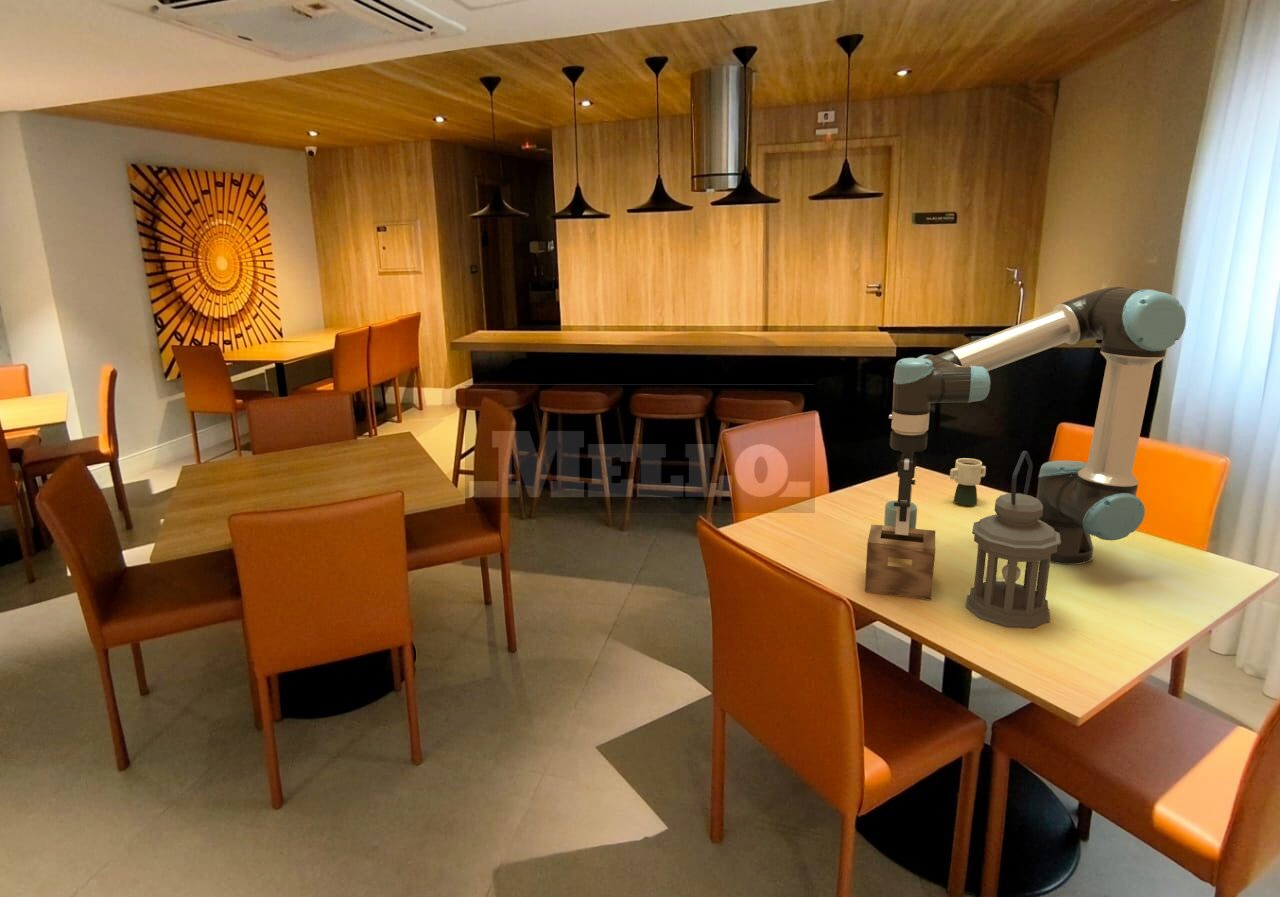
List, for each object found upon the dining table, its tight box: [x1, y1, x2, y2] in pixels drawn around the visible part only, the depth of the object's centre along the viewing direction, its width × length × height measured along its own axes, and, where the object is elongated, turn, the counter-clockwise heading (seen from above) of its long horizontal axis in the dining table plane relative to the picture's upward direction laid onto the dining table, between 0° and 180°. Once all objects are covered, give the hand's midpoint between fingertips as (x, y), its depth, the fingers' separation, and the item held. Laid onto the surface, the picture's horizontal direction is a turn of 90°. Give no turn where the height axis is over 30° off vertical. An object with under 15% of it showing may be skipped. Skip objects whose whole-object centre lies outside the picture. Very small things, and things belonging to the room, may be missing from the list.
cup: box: [883, 499, 918, 529], centre depth 194 cm, size 8×8×10 cm
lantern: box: [964, 450, 1061, 630], centre depth 155 cm, size 17×17×35 cm
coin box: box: [864, 523, 936, 601], centre depth 170 cm, size 14×11×12 cm
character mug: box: [949, 457, 987, 507], centre depth 218 cm, size 11×7×13 cm, turn 98°
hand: (902, 522), depth 168 cm, fingers open, 13 cm apart
